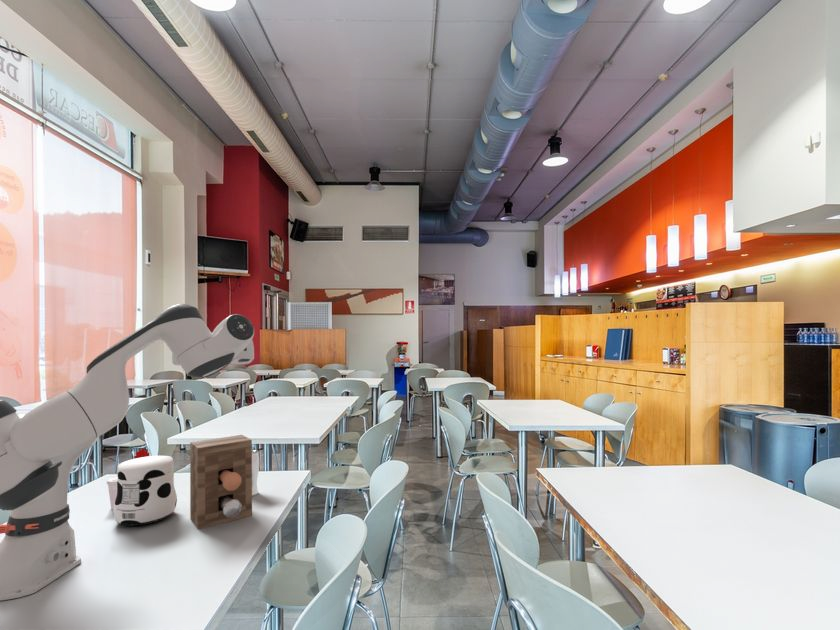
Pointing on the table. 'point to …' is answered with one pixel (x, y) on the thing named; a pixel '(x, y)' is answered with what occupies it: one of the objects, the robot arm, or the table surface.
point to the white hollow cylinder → (255, 471)
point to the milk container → (145, 490)
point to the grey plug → (230, 506)
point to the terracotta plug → (230, 479)
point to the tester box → (205, 481)
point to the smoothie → (112, 490)
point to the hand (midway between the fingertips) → (206, 364)
